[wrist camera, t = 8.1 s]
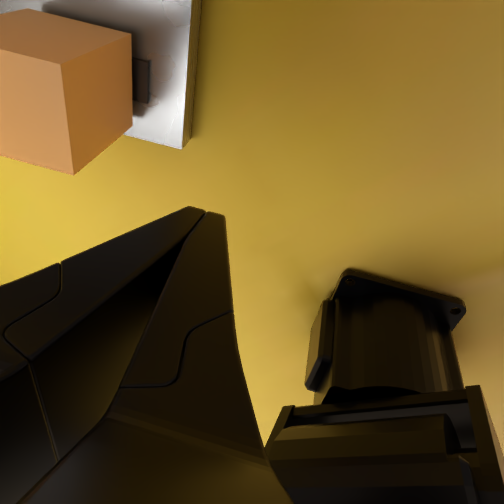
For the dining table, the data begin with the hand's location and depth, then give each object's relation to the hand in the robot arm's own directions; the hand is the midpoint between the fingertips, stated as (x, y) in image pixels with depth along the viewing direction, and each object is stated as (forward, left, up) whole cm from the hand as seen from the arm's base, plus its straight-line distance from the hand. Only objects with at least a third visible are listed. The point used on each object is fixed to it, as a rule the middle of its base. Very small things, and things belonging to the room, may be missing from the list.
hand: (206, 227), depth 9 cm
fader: (+7, 0, -8) cm, 11 cm away
